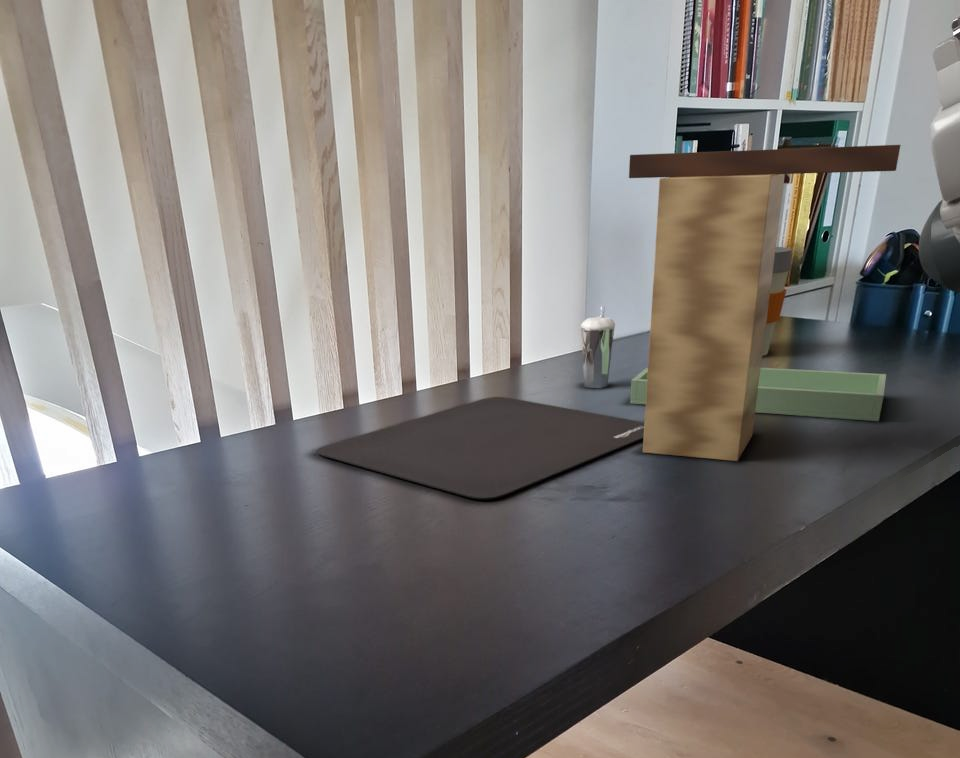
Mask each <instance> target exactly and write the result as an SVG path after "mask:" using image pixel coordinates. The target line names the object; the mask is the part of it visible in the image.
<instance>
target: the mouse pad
mask: <svg viewBox="0 0 960 758" xmlns="http://www.w3.org/2000/svg"><path fill="white" fill-rule="evenodd" d="M644 423H645V421H638V420H633V419H627V418H622V417H617V416H616V417H615V416H611V415H606V414H605V415H604V414H601V413H600V414H599V413H593V412H589V411H584V410H583V411H582V410H578V409H572V408H566V407H561V406H556V405H555V406H554V405H550V404H546V403H545V404H544V403H539V402H532V401H528V400H521V399H517V398H510V397H504V396H494V397H493V396H492V397H487V398H483V399H479V400H476V401H472V402H469V403H465V404H462V405H458V406H456V407H451V408H449V409H444V410H442V411H439V412H435V413H432V414H428V415H424V416H421V417H418V418H414V419H412V420H408V421H404V422H400V423H398V424H394V425H391V426H387V427H384V428H380V429H377V430H374V431H370V432H368V433H367V432H366V433H364V434H360V435H357V436H353V437H351V438H347V439H343V440H340V441H337V442H333V443H330V444H327V445H324V446H322V447H319V448H318V449H317V450H316V454H318V455H319V456H322V457H324V458H329V459H331V460H336V461H338V462H342V463H346V464H349V465H353V466H356V467H360V468H363V469H367V470H371V471H373V472H378V473H380V474H385V475H388V476H391V477H394V478H399V479H402V480H406V481H409V482H413V483H417V484H419V485H422V486H427V487H430V488H435V489H437V490H441V491H444V492H448V493H451V494H455V495H459V496H463V497H466V498H470V499H475V500H493V499H499V498H502V497H505V496H507V495H510V494H512V493H514V492H517V491H519V490H522V489H524V488H526V487H529V486H532V485H535V484H536V483H540V482H541V481H544V480H546V479H550V478H552V477H553V476H556V475H558V474H561V473H563V472H566V471H569V470H571V469H573V468H576V467H579V466H580V465H582V464H585V463H587V462H590V461H593V460H595V459H597V458H600V457H602V456H606V455H607V454H610V453H613V452H614V451H617V450H619V449H622V448H624V447H627V446H628V445H631V444H633V443H637V442H638V441H641V440H643V439H644Z"/></svg>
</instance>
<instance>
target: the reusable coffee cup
mask: <svg viewBox="0 0 960 758" xmlns="http://www.w3.org/2000/svg"><path fill="white" fill-rule="evenodd" d="M792 250H793V249H792V248H790V247H783V246H776V248H775V257H774V265H773V273H772V281H771V289H770V297H769V305H768V313H767V321H766V329H765V337H764V345H763V353H762V357H764V356H767V355H768V354H769V351H770V345H771V341H772V337H773V334H774V330H775V326H776V323H777V322H778V321H779V320H780V317H781V313H782V309H783V305H784V302H785V297H786V294H787V289H786V288H785V286H786V282H787V280H788V279H787V278H788V275H789V272H790V271H791V270H792Z"/></svg>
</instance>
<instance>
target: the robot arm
mask: <svg viewBox="0 0 960 758" xmlns="http://www.w3.org/2000/svg"><path fill="white" fill-rule="evenodd" d="M951 30H952V33H953V36H951V37H949V38H947V39H945V40H943V41H941V42H940V43H938V44H937V45H936V46H935V48H934V50H933V51H932V59H933V61H934V66H935V69H936V76H937V78H936V79H937V88H938V89H937V90H938V98H939V101H940V107H939V109H938V111H937V113H936V114H935V116H934V118H933V120H932V121H931V122H930V126H929V127H930V128H929V136H930V138H929V141H930V148H931V154H932V158H933V163H934V167H935V172H936V176H937V181H938V185H939V191H940V194H941V200H940V201H939V202H938V203H937V205H936V206H935V207H934V208H933V210H932V211H931V213H930V215H929V216H928V217H927V219H926V222H925V223H924V225H923V228H922V230H921V233H920V236H919V240H918V258H919V261H920V265H921V268H922V270H923V271H924V272H925V274H926V275H927V276H928V277H929V278H930V279H931V280H932V281H934V282H935V283H936V284H937V285H940V286H941V287H943V288H944V289H947V290H949V291H951V292H953V293H954V292H955V293H957V292H960V14H958V15H956V17H955V18H954V20H952V23H951Z"/></svg>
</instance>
